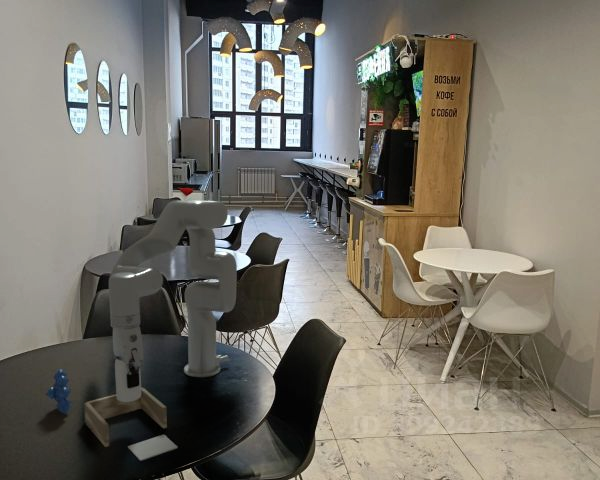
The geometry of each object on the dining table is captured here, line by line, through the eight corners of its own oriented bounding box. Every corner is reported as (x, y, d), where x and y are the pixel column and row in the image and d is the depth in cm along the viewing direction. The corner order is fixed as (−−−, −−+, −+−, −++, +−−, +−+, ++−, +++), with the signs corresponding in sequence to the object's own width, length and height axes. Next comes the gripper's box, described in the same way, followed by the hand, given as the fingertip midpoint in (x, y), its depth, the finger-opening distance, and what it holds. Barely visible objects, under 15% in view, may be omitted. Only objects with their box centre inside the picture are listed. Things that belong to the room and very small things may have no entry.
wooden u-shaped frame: (143, 406, 163) (142, 387, 162) (166, 427, 151) (166, 407, 150) (84, 422, 153) (83, 402, 152) (105, 447, 140) (104, 425, 140)
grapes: (43, 405, 162) (41, 367, 160) (68, 400, 166) (66, 363, 164) (50, 422, 153) (47, 381, 151) (75, 416, 156) (73, 376, 154)
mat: (163, 435, 147) (163, 434, 147) (177, 448, 141) (177, 446, 141) (127, 447, 141) (127, 446, 141) (140, 461, 134) (140, 459, 134)
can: (134, 404, 146) (132, 361, 144) (112, 401, 147) (109, 359, 145) (145, 393, 152) (143, 352, 150) (124, 391, 153) (122, 350, 151)
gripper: (152, 324, 141) (154, 390, 145) (126, 308, 155) (129, 368, 158) (124, 330, 137) (127, 398, 140) (99, 313, 150) (103, 375, 153)
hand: (128, 381), depth 149 cm, fingers closed on can, 6 cm apart
